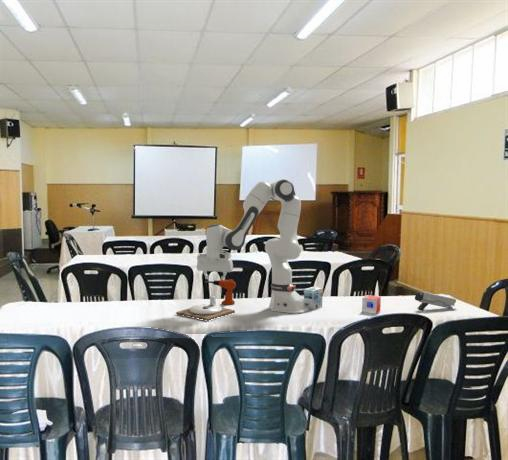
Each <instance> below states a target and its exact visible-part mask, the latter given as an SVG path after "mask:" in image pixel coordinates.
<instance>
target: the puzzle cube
mask: <svg viewBox="0 0 508 460" xmlns="http://www.w3.org/2000/svg"><path fill="white" fill-rule="evenodd" d="M381 298H382V297H381V296H378V295H369V294H367V295H364V296H363V297H362V301H361V302H362V303H361V306H362V307H361V312H364V313H370V314H377V313H379V312H380V311H381V306H382V305H381V300H382V299H381Z"/></svg>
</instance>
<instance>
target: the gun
mask: <svg viewBox="0 0 508 460" xmlns="http://www.w3.org/2000/svg"><path fill="white" fill-rule="evenodd" d="M414 300H415V301H417V302H419V303H420V305H419V306H418V307H417V309H418V310H420V311H424V310H425V308H426V307H427V306H429V305H431V306H436V307H437V306H438V307H440V308H441V307H442V308H446V309H450V310H451V309H453V307H455V304H456V302H457V299H456V298H453V297H448V296H444V295H439V294H435V293H430V292H426V291H421V292H418V291H417V292H416V293H415V295H414Z"/></svg>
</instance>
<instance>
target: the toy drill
mask: <svg viewBox="0 0 508 460" xmlns="http://www.w3.org/2000/svg"><path fill="white" fill-rule="evenodd" d="M204 283H206V284H213V286H218V287H221V288H223V289H224V291H223V292H222V295H223V296H224V300H223V301H221V305H223V306H231V305H232V306H233V305H235V303H236V302H235V300H234V299H233V291H234V289H235V288H236V287H237V283H236V282H235V281H234V279H231V278H230V279H225V280H221V279H220V280H212V281H211V280H205V281H204Z"/></svg>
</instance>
